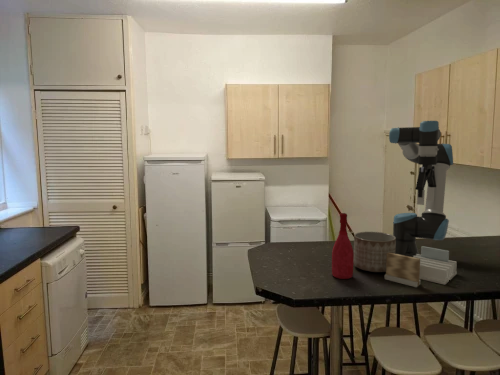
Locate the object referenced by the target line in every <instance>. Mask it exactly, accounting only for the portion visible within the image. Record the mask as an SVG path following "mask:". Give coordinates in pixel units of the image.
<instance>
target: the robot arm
mask: <svg viewBox="0 0 500 375" xmlns="http://www.w3.org/2000/svg"><path fill="white" fill-rule="evenodd" d="M439 126H440V125H439V121H438V120H423V121H421V122H420V123H419V126H415V127H413V126H411V127H410V126H409V127H399V126H398V127H392V128H391V129H390V130H389V131H388V132H389V135H388V137H389V138H388V139H389V143H391V144H398V146H399V147H400V149H401V150H402V155H403V157H405V159H406V160H408V161H409V162H412V163H414V164H417V165H420V166H419V168H418V176H417V180H416V185H415V188H414V189H415V190H417V196H416V197H417V198H416V205H420V206H424V205H425V209H424V211H423V212H422V213H421V216H418V214H417V213H415V212H401V213H397V214H395V215H394V216H393V223H392V225H393V226H392V235H393V236H395V237H396V248H395V254H399V255H404V256H409V257H413V256H416V254H420V253H419V248H418V246H417V243H416V239H424V240H433V241H444V240H445V238H446V235H447V233H448V228H449V222H450V221H449V219H448V218H447V215H446V214H445V212H444V203H445V193H446V192H445V191H446V179H447V171H448V170H450V168H451V166H452V165H454V156H453V146H452V144H450V143H443V142H442V143H438V141H439V140H440V139H441V136H442V134H441V130H440V129H439V128H440V127H439ZM421 165H422V166H421ZM426 184H427V187H426ZM425 188H427V189H426V190H425ZM425 191H426V198H425Z"/></svg>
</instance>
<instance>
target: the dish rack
mask: <svg viewBox="0 0 500 375" xmlns="http://www.w3.org/2000/svg"><path fill="white" fill-rule="evenodd" d="M413 257H414V258H419V259H420V276H419V280H423V281H428V282H432V283H437V284H441V285H447V284H448V283H449V280H450V281H451V280H452V279H453V278H454V277H455V276H456V275H457V264H458V263H457V261H455V260H450V250H447V249H441V248H435V247H429V246H424V245H423V246H421V248H420V253H419V254H416V256H413Z"/></svg>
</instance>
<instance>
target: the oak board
mask: <svg viewBox="0 0 500 375" xmlns="http://www.w3.org/2000/svg"><path fill="white" fill-rule="evenodd" d="M385 274H387V275H391V276H395V277H399V278H403V279H407V280H411V281H415V282H418V287H419V286H420V285H419V280H420V279H419V276H420V259H419V258H414V257H409V256H404V255H399V254H394V253H389V252H388V253H387V262H386V272H385Z"/></svg>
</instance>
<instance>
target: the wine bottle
mask: <svg viewBox="0 0 500 375" xmlns="http://www.w3.org/2000/svg"><path fill="white" fill-rule="evenodd" d="M347 223H348V214H347V213H345V212H342V213H341V212H340V213H339V224H340V228H339V232H338V234H337V235H338V236H337V238H336V240H335V241H334V245H333V247H332V250H331V275H332V276H333V277H334V278H336V279H340V280H348V279H351V278H353V275H354V247H353V245H352V243H351V240H350V237H349V235H348V234H349V233H348V231H347Z"/></svg>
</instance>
